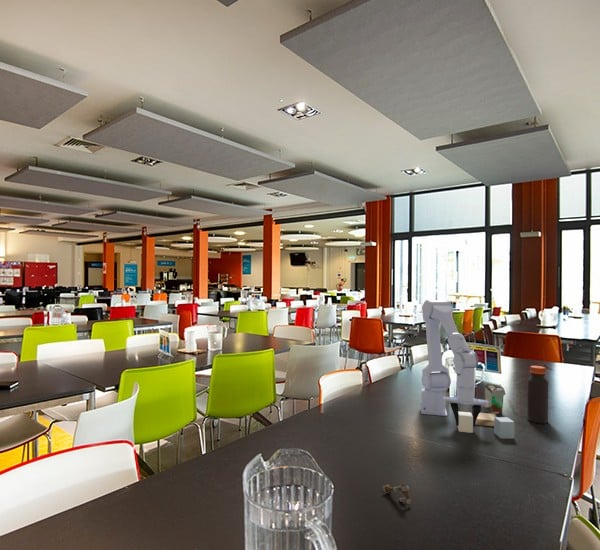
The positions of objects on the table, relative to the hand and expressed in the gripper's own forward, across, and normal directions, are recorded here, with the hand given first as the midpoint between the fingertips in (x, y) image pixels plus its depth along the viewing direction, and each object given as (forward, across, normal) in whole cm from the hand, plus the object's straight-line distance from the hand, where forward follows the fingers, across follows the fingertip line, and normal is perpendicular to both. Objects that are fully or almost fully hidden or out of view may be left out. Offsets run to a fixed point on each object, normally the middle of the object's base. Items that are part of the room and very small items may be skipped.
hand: (465, 425), depth 145 cm
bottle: (+2, +27, +18) cm, 32 cm away
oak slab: (+2, +8, +11) cm, 14 cm away
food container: (+2, +14, +24) cm, 28 cm away
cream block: (+1, 0, 0) cm, 1 cm away
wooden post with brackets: (+2, -20, -54) cm, 57 cm away
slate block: (+2, +12, -2) cm, 12 cm away
